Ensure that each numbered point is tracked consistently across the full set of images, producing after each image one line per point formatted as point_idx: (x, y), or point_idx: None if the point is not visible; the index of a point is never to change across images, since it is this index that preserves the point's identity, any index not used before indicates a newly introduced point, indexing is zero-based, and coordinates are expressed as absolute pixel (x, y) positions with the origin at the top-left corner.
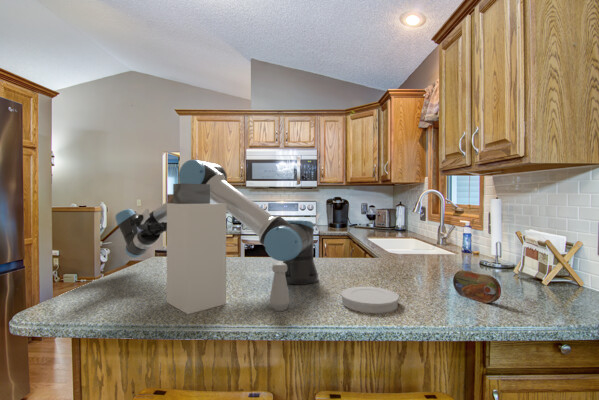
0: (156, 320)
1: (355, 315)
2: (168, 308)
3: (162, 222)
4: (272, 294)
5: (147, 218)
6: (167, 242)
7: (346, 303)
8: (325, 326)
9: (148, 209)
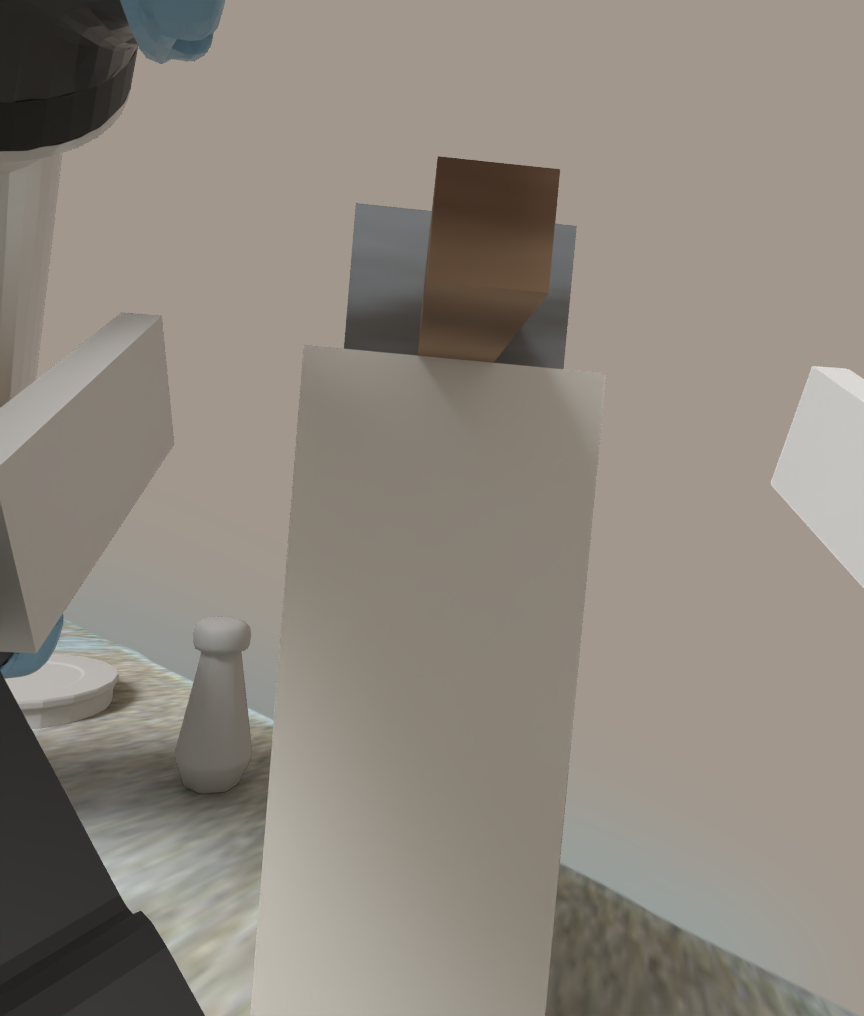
0: (627, 929)
1: (147, 702)
2: (552, 1007)
3: (177, 991)
4: (245, 729)
5: (813, 527)
6: (575, 662)
7: (88, 706)
8: (257, 713)
9: (809, 376)
